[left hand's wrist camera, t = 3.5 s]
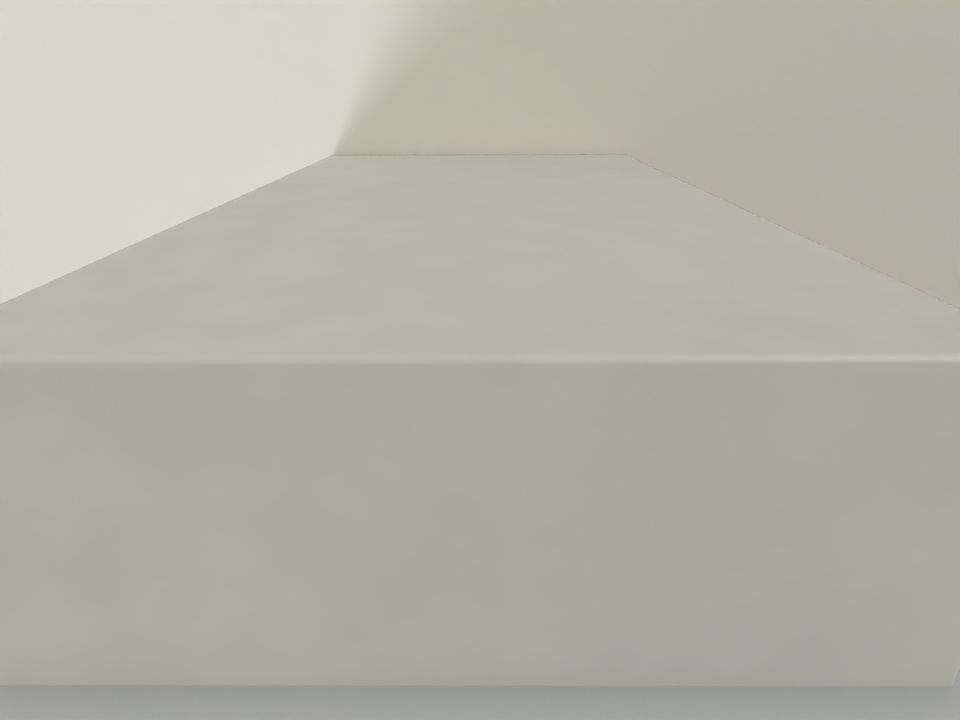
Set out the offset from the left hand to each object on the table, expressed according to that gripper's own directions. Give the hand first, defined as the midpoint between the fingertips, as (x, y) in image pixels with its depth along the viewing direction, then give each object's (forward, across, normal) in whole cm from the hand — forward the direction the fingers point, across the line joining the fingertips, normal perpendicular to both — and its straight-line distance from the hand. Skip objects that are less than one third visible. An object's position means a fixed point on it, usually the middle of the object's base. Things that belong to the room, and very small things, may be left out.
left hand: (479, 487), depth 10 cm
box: (+7, 0, -10) cm, 12 cm away
